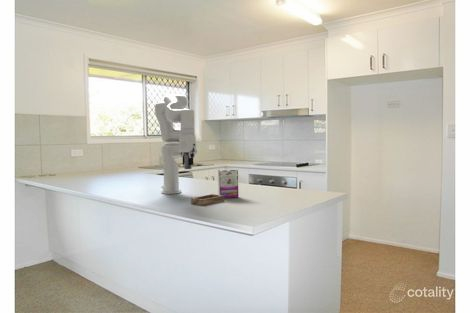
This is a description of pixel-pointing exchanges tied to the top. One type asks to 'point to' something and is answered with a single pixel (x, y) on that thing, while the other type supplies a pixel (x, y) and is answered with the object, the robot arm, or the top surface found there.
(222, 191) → the candy bar box
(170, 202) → the top surface
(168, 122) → the robot arm
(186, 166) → the battery cell
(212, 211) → the top surface
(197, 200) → the tray
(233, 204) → the top surface
